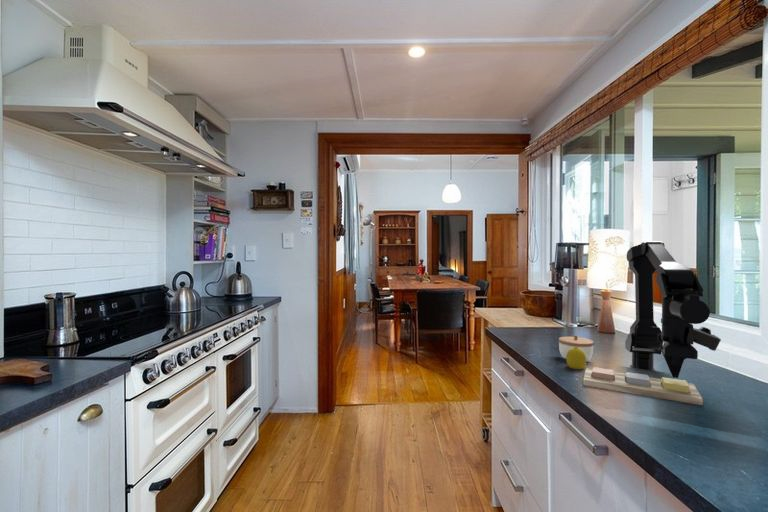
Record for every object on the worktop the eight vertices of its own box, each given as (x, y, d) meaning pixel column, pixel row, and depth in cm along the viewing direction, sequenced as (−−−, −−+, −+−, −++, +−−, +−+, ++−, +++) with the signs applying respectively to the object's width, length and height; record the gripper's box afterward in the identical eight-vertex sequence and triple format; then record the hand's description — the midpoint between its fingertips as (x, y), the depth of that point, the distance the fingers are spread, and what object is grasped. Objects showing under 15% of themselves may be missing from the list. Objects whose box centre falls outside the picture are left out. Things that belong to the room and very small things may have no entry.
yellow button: (661, 388, 98) (661, 377, 98) (685, 392, 95) (685, 380, 95) (664, 394, 94) (664, 382, 94) (689, 398, 91) (689, 386, 91)
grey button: (626, 382, 102) (626, 371, 102) (648, 386, 100) (648, 375, 100) (626, 388, 98) (626, 376, 98) (649, 391, 95) (649, 380, 95)
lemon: (588, 375, 113) (588, 349, 113) (569, 374, 114) (569, 348, 114) (582, 370, 118) (582, 345, 118) (564, 368, 119) (564, 344, 119)
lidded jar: (570, 356, 134) (570, 330, 134) (600, 364, 125) (600, 336, 125) (551, 360, 129) (552, 333, 128) (581, 368, 119) (581, 340, 119)
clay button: (593, 377, 106) (593, 367, 106) (613, 380, 104) (613, 370, 104) (592, 382, 102) (592, 371, 102) (613, 385, 100) (613, 374, 100)
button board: (585, 377, 110) (586, 367, 110) (693, 395, 97) (693, 383, 97) (583, 390, 100) (583, 379, 100) (702, 411, 87) (702, 398, 87)
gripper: (727, 326, 82) (726, 395, 82) (708, 314, 98) (708, 372, 98) (665, 321, 88) (664, 385, 88) (657, 311, 104) (656, 366, 104)
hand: (675, 377), depth 95 cm, fingers closed
